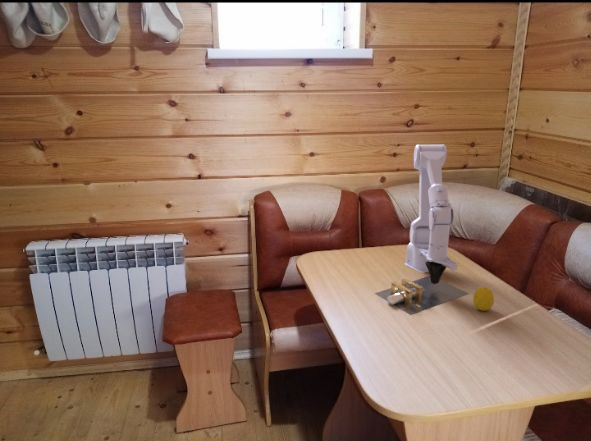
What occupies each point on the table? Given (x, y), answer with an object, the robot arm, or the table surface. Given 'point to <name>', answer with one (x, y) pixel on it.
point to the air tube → (400, 297)
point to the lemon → (483, 298)
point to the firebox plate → (420, 302)
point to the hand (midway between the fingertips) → (434, 282)
